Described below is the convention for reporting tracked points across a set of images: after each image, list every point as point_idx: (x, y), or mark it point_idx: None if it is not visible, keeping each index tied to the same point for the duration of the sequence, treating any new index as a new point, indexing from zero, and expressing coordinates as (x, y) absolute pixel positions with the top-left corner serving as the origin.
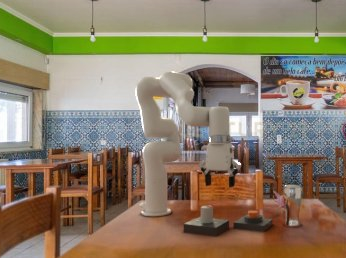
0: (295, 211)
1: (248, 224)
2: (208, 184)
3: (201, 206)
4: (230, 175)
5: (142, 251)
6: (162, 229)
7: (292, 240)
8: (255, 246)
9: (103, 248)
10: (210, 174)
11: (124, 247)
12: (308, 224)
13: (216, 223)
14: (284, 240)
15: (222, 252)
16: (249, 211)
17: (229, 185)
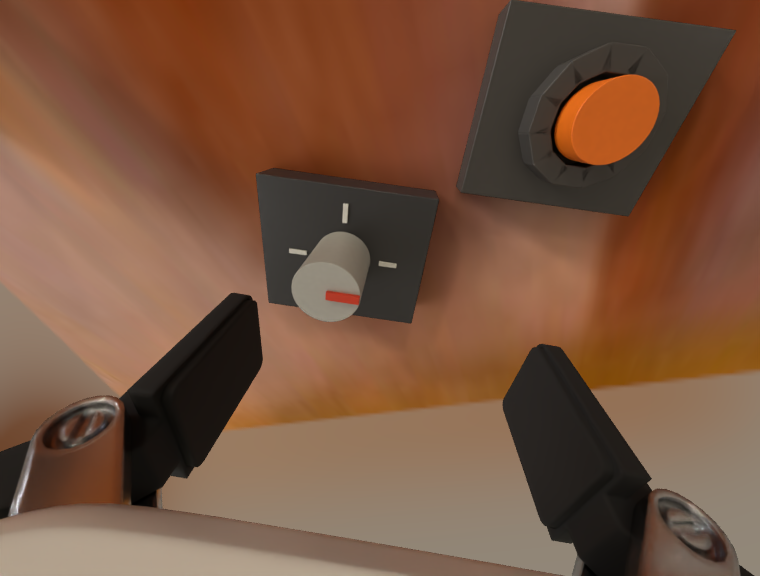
0: None
1: (544, 203)
2: (256, 354)
3: (292, 291)
4: (581, 557)
5: (285, 419)
6: (190, 272)
7: (714, 289)
8: None
9: None
10: (158, 407)
11: None
12: None
13: (394, 270)
14: (678, 295)
15: (466, 403)
16: (583, 125)
17: (514, 424)
